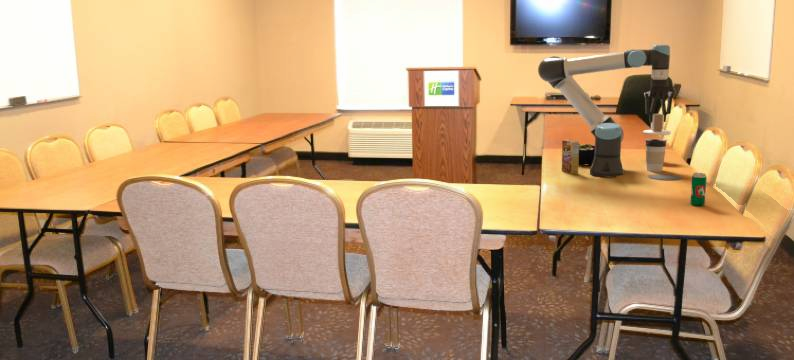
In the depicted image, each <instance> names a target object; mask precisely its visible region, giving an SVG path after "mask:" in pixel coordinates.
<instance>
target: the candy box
mask: <svg viewBox="0 0 794 360" xmlns="http://www.w3.org/2000/svg"><path fill="white" fill-rule="evenodd" d="M561 141H562V142H561V171H562V172H565V173H567V174H570V175H577V174H579V165H580V164H579V144H580V141H576V140H572V139H562V140H561Z"/></svg>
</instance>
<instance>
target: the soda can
mask: <svg viewBox="0 0 794 360" xmlns="http://www.w3.org/2000/svg"><path fill="white" fill-rule="evenodd" d="M707 179H708V178H707V174H706V173H704V172H693V174H692V175H691V187H690V198H689V199H690V200H689V201H690V202H689V203H690V204H691V206H693V205H694V206H695V207H703V206H705V204H706V192H707V181H708V180H707Z"/></svg>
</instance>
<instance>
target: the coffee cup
mask: <svg viewBox="0 0 794 360" xmlns="http://www.w3.org/2000/svg"><path fill="white" fill-rule="evenodd" d="M652 139H653V140H650V141H648V143H646V142H645V163H646V165H645V166H646V167H645V168H646V171H648V172H653V173H655V172H658V173H659V172H663V167H664V164H665V155H666V146H667V145H666V144H667V142H666V143H664V141H660V140H657V139H658V138H652Z"/></svg>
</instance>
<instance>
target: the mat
mask: <svg viewBox="0 0 794 360" xmlns="http://www.w3.org/2000/svg"><path fill="white" fill-rule="evenodd" d="M646 177H647V178H648V179H649V180H656V181H663V182H664V181H666V182H667V181H669V182H673V181H682V180H684V178H683V177H682V176H680V175H676V174H668V173H667V174H666V173H665V174H664V173H663V174H661V173H657V174H655V173H654V174H649V175H647V176H646Z"/></svg>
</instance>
